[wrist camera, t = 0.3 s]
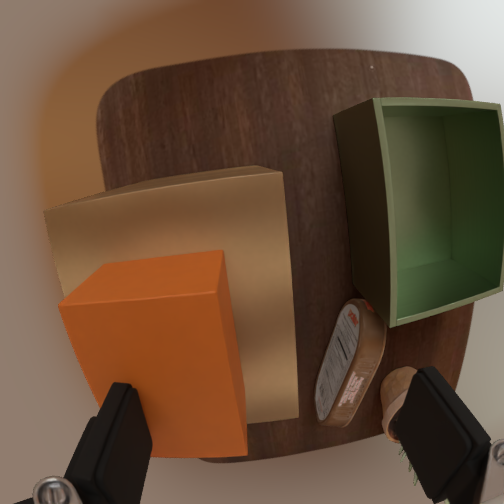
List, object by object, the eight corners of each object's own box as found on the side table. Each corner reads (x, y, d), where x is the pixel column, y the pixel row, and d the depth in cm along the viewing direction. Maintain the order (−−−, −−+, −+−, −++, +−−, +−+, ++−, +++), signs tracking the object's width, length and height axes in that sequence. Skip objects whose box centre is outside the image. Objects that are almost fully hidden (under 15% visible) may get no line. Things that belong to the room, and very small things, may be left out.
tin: (327, 395, 37) (344, 442, 29) (304, 393, 36) (317, 443, 28) (367, 287, 33) (402, 324, 24) (341, 283, 32) (371, 321, 24)
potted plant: (434, 346, 36) (541, 476, 12) (422, 398, 38) (498, 522, 15) (367, 363, 35) (456, 531, 12) (360, 415, 38) (420, 562, 15)
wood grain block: (150, 179, 29) (42, 210, 11) (255, 164, 29) (282, 171, 11) (171, 297, 32) (117, 425, 15) (268, 286, 32) (298, 417, 15)
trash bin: (352, 283, 32) (389, 328, 23) (332, 115, 27) (372, 97, 18) (451, 260, 32) (502, 291, 23) (442, 111, 27) (500, 103, 18)
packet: (103, 263, 12) (56, 304, 8) (223, 248, 12) (216, 291, 8) (145, 396, 14) (125, 455, 10) (245, 391, 14) (248, 456, 10)
